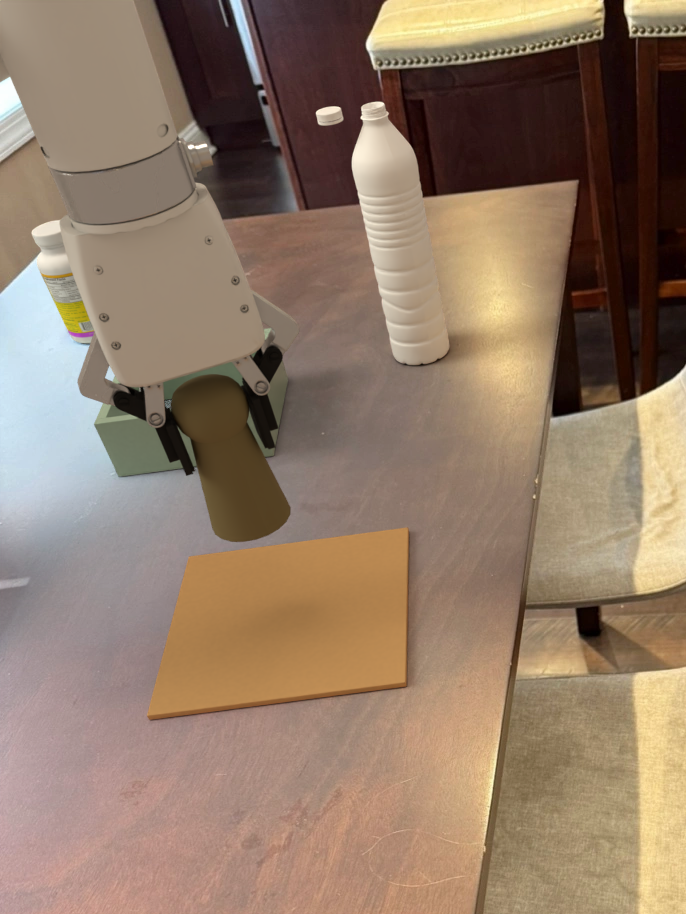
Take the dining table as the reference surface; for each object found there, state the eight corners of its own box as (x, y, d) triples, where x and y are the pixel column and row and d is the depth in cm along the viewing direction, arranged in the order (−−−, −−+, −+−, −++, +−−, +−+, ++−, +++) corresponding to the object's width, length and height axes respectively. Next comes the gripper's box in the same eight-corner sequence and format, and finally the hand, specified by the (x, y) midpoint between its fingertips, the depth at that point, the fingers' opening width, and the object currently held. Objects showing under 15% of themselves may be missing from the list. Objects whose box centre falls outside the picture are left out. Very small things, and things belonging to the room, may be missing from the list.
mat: (148, 720, 77) (146, 715, 77) (190, 560, 91) (188, 556, 90) (406, 686, 77) (405, 682, 76) (409, 531, 90) (408, 526, 90)
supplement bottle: (96, 318, 129) (51, 213, 120) (135, 323, 127) (92, 217, 118) (60, 342, 125) (10, 236, 116) (99, 348, 123) (52, 241, 114)
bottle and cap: (449, 335, 116) (406, 89, 98) (450, 361, 111) (405, 109, 93) (374, 345, 116) (317, 101, 98) (373, 372, 112) (313, 122, 93)
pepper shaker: (208, 507, 78) (154, 375, 70) (285, 486, 79) (240, 354, 71) (215, 550, 74) (159, 416, 66) (296, 528, 75) (250, 393, 67)
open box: (118, 477, 102) (93, 424, 98) (148, 398, 113) (126, 347, 109) (273, 456, 102) (255, 402, 97) (288, 378, 113) (272, 327, 108)
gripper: (252, 132, 63) (325, 395, 77) (-26, 201, 60) (102, 465, 73) (281, 165, 58) (354, 440, 72) (-20, 242, 55) (116, 517, 68)
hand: (226, 450), depth 72 cm, fingers closed on pepper shaker, 5 cm apart
